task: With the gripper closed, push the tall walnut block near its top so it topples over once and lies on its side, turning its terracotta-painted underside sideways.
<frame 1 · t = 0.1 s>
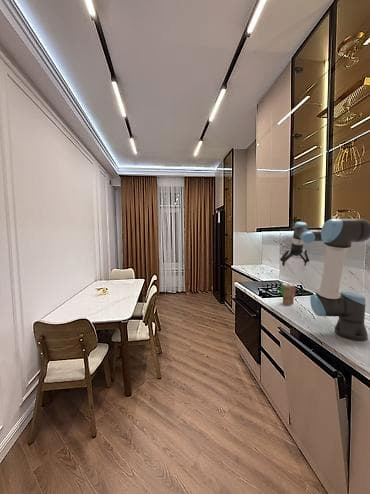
hand: (292, 269, 181), 28 cm above the counter, tool tilted 20°, fingers open, 13 cm apart
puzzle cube: (287, 295, 211), on the counter
walnut block: (288, 304, 187), on the counter
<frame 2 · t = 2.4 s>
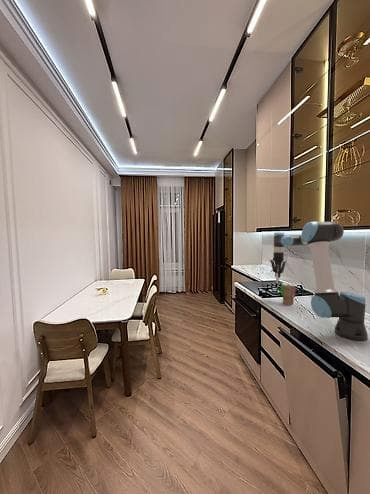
hand: (277, 281, 192), 17 cm above the counter, tool pointing down, fingers closed
nothing on the counter moved.
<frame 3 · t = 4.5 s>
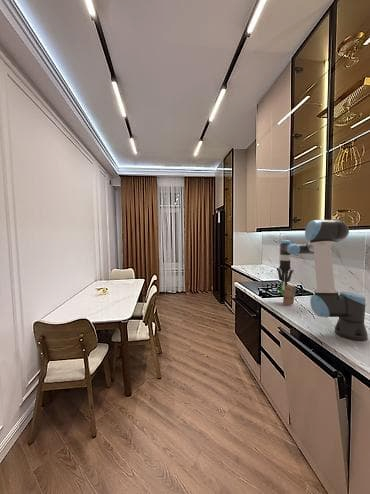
hand: (284, 289, 188), 11 cm above the counter, tool pointing down, fingers closed
walnut block: (288, 304, 187), on the counter, touching gripper
everything else where it was.
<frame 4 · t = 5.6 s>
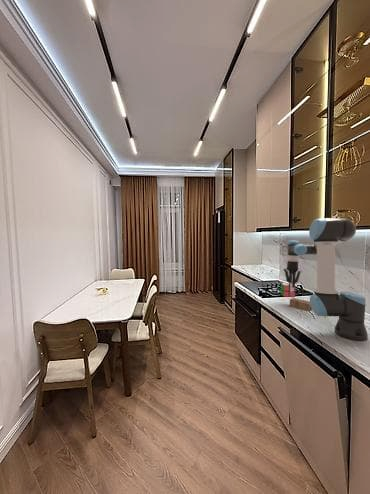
hand: (291, 291, 184), 11 cm above the counter, tool pointing down, fingers closed
walnut block: (291, 302, 185), point 2 cm above the counter, tilted 90°
everything else where it was.
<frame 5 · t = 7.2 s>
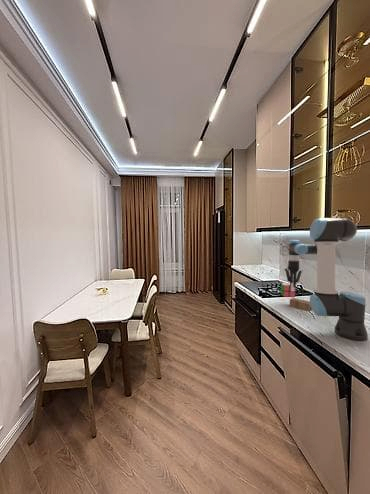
hand: (292, 291, 183), 11 cm above the counter, tool pointing down, fingers closed
nothing on the counter moved.
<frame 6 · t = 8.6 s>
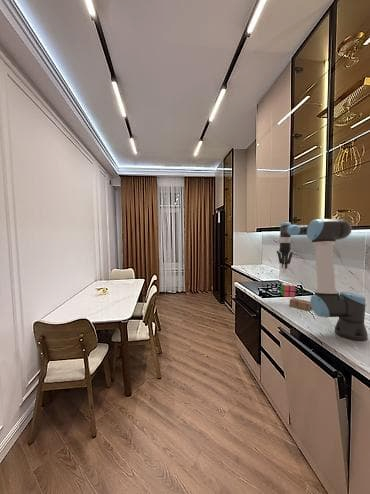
hand: (284, 272, 187), 24 cm above the counter, tool pointing down, fingers closed
nothing on the counter moved.
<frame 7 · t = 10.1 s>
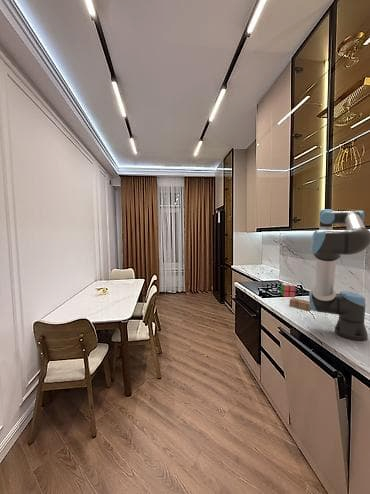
hand: (324, 269, 158), 32 cm above the counter, tool pointing down, fingers closed
nothing on the counter moved.
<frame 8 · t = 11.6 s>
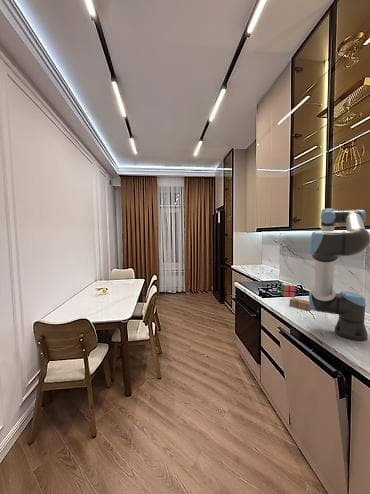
hand: (325, 268, 158), 32 cm above the counter, tool pointing down, fingers closed
nothing on the counter moved.
at the end: walnut block tilted 90°; walnut block inside the target area (1.4 cm from its centre), point 2.4 cm above the counter; the gripper is holding nothing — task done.
